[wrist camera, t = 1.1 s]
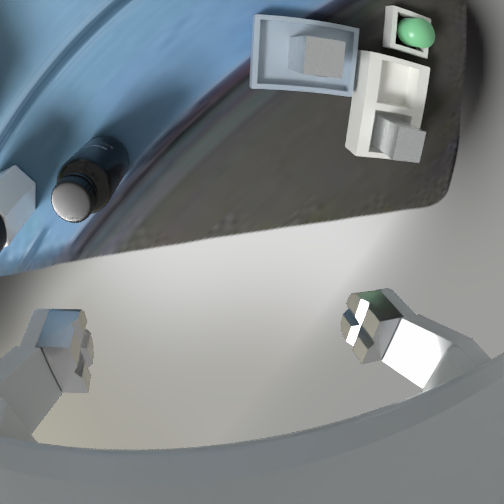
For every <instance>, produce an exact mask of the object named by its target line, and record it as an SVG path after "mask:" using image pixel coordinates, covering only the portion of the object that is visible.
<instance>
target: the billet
mask: <svg viewBox="0 0 504 504" xmlns="http://www.w3.org/2000/svg"><path fill="white" fill-rule="evenodd" d="M345 45H346V42H344V41H338V40H332V39H326V38H320V37H313V36H298V37H289V47H288V62H287V69H288V70H292V71H295V72H298V73H301V74H306V75H314V76H320V77H332V78H339V79H342V75H343V66H344V55H345Z"/></svg>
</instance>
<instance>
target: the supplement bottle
mask: <svg viewBox="0 0 504 504" xmlns="http://www.w3.org/2000/svg"><path fill="white" fill-rule="evenodd" d="M128 164H129V159H128V154H127V151H126V149H125V147H124V146H123V145H122V144H121V143H120V142H119V141H118V140H116V139H114V138H112V137H108V136H100V137H96V138H94V139H92V140H90V141H89V142H88V143H86V144H85V145H84V146H83V147H82V148H81V149H80V150H79V151H77V152H76V153H75V154H74V155H73V156H72V157H71V158H70V159H69V160H68V161H67V162H66V163H65V164H64V165H63V166H62V167H61V169H60V171H59V173H58V176H57V185H56V186H55V188H54V189H53V192H52V197H51V200H52V201H51V203H52V206H53V208H54V210H55V211H56V214H58V215H59V217H61V218H62V219H64V220H65V221H68V222H73V223H75V222H76V223H78V222H82V221H83V220H85V219H86V218H88V217H89V215H90V214H92V213H96V212H98V211H100V210H101V209H103V208H104V207H105V206H106V204H107V203H108V202H109V200H110V198H111V197H112V195H113V193H114V192H115V190H116V188H117V187H118V185H119V183H120V182H121V180H122V179H123V177H124V175H125V174H126V171H127V169H128Z"/></svg>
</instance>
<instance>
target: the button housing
mask: <svg viewBox="0 0 504 504" xmlns="http://www.w3.org/2000/svg"><path fill="white" fill-rule="evenodd" d="M398 15H400V16H403V17H406V18H423V19H425V20H427V21H428V22H429V23H430V24H431V19H430V18H427V17H425V16H422V15H419V14H417V13H414V12H411V11H409V10H406V9H403V8H400V7H397V6H394V5H392V6H386V9H385V23H384V35H383V45H382V47H386V48H390V49H394V50H397V51H401V52H404V53H408V54H411V55H414V56H417V57H422V58H427V57H428V48H429V47H428V48H420V47H416V50H415V49H411V48H408V47H405V46H402V45H398V44H395V41H396V30H397V18H398Z"/></svg>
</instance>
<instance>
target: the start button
mask: <svg viewBox="0 0 504 504" xmlns="http://www.w3.org/2000/svg"><path fill="white" fill-rule="evenodd" d="M397 35H398V37H399V39H400V40H401V41H402V42H403V43H404V44H405V45H408V46H413V47H420V48H428V47H430V46H431V45H432V44H433V43H434V40H435V32H434V29H433V27H432V25H431V24H430V23H429V22H428V21H427V20H425V19H423V18H404V19H402V20H400V21H399V23H398V24H397Z"/></svg>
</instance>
